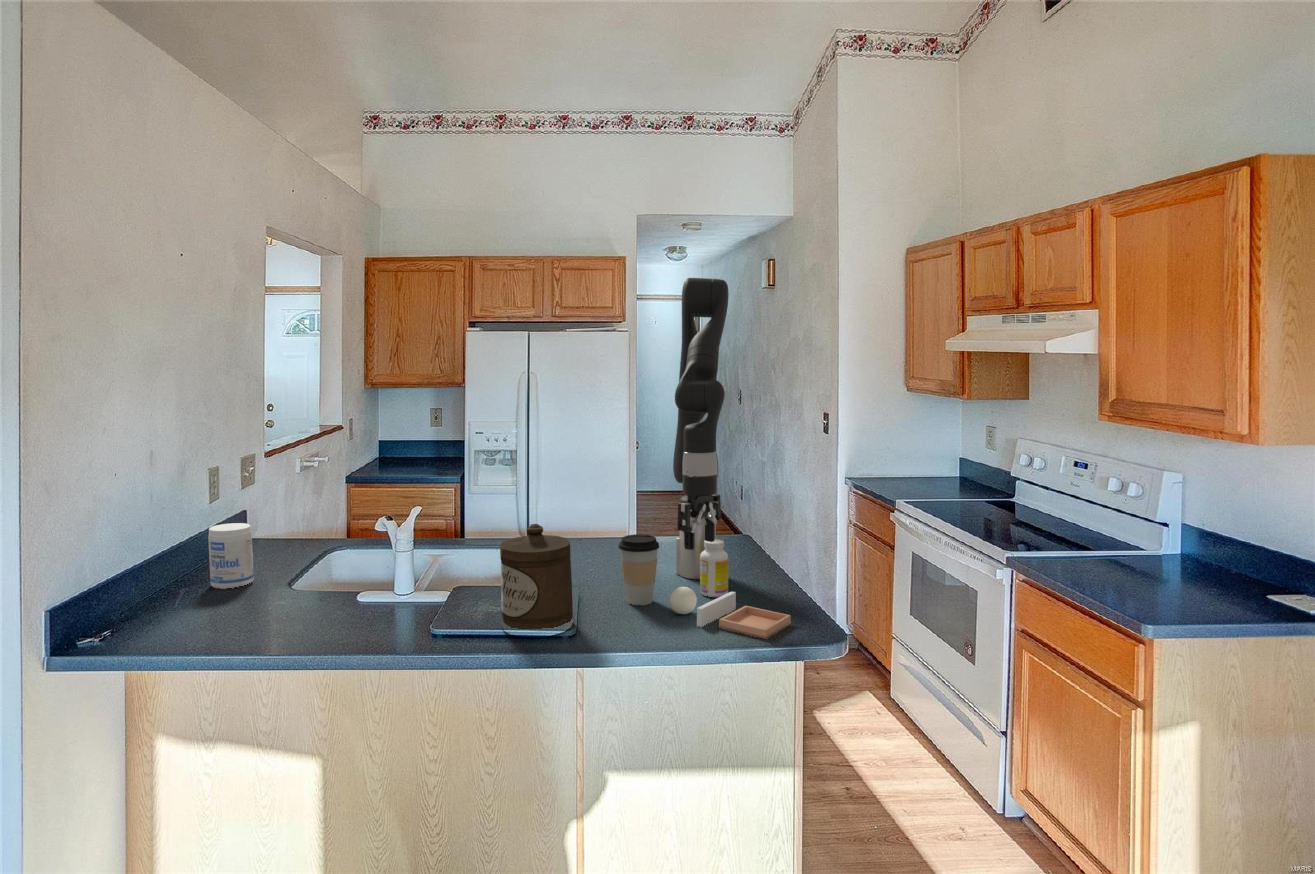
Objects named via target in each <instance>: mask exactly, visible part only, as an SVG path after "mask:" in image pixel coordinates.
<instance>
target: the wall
mask: <svg viewBox="0 0 1315 874" xmlns="http://www.w3.org/2000/svg"><path fill="white" fill-rule="evenodd" d="M736 593H737V592H736V591H730V592H729V591H728V593H727V594H725V595H723V596H721V597H716V598H715V599H712V600H711V601H709V602H706V603H704V604H703V605H701V606H698V607H696V627H698V626H700V627H699V628H703V627H705V626H707V625H708V624H707V623H709V624H711V623H713V622H715V621H717V620H719V619H721V618H723V617H725V616H726V615H729V614H731V613H733V612H734V611H736V609H737V606H736V605H737V601H736V600H737V599H736V598H737V594H736ZM733 610H734V611H733ZM725 614H726V615H725ZM724 615H725V616H724ZM722 616H723V617H722ZM716 619H717V620H716ZM714 620H715V621H714ZM712 621H713V622H712ZM710 622H711V623H710ZM706 624H707V625H706ZM704 625H705V626H704ZM702 626H703V627H702Z"/></svg>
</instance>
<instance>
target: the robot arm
mask: <svg viewBox="0 0 1315 874" xmlns="http://www.w3.org/2000/svg"><path fill="white" fill-rule="evenodd" d="M729 295H730V294H729V285H728V283H727V282H726V280H724V279H722V278H721V279H719V278H708V277H707V278H706V277H705V278H704V277H687V278H686V279H685V280H684V282H683V284H682V290H681V349H680V361H679V377H678V384H677V385H676V389H675V392H674V403H675V406H676V407H677V423H676V425H677V426H676V433H675V434H676V436H675V443H674V452H673V459H672V461H673V463H672V467H673V468H672V470H673V475H674V476H673V477H674V479H675V480H676V482H677V483H679V484H682V493H683V494H684V495H683V496H681V497H680V499H679V503H678V505H677V531H679V536H678V537H676V539H675V541H676V543H675V546H676V549H675V551H676V552H675V556H676V557H675V561H676V563H675V566H676V568H675V569H676V571H675V573H676V575H678V576H681V577H682V578H686V579H691V580H700V555H701V553H702V552H703V551H704V550H705V546H704V541H708V542H713V541H715V539H716V525H717V523H718V521H719V522H720V521H721V520H722V511H721V509H722V506H721V495H720V494H719V493H718V494H717V492H718V472H719V471H718V470H719V462H718V461H719V459H718V458H719V457H718V453H717V430H718V423H719V418H720V414H721V411H722V408H723V405H724V400H725V396H726V395H725V392H726V391H725V389H724V386H723V384H722V383H721V382H720V381H719V380H717V378H718V371H719V370H718V368H719V358H720V357H719V354H720V352H719V351H720V346H721V340H722V337H723V336H722V335H723V333H724V329H725V323H726V318H727V313H728V308H729V307H728V306H729ZM695 318H710V320H709V321H708V322H707V323H706V324H705V325H704V327H702V328H700V330H699V331H698V329H697V327H696V323H695ZM706 414H707V416H706ZM705 416H706V418H705V419H704V417H705ZM703 419H704V420H703Z"/></svg>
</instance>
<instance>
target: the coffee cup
mask: <svg viewBox="0 0 1315 874" xmlns="http://www.w3.org/2000/svg"><path fill="white" fill-rule="evenodd" d="M617 548H618V549H619V550H620V552H621V565H622V566H621V567H622V573H623V574H622V575H623V582H624V588H625V596H626V603H627V604H629V605H631V604H632V606H638V605H641V606H647V605H650V604H652V603H653V600H654V589H655V582H656V575H657V565H658V549H660V544H659V542H658V541H657V537H656V536H653V535H652V534H651V535H650V534H642V533H641V534H640V533H639V534H638V533H637V534H635V533H634V534H629V535H625V536H623V537H622V538H621V541H619V543H618V547H617Z"/></svg>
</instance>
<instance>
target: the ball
mask: <svg viewBox="0 0 1315 874" xmlns="http://www.w3.org/2000/svg"><path fill="white" fill-rule="evenodd" d="M669 596H670V597H669V605H670V607H671V609H672V611H674V612H675V613H676V614H679V615H688V614H690V613H691V612H693V611H694V609H695V608H697V602H698V599H697V595H696V593H695V592H694V590H693V589H691V587H690V588H689V587H687V586H679V587H676V588H675V589H674V590H673V591H672V592H671V593H670V595H669Z"/></svg>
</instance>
